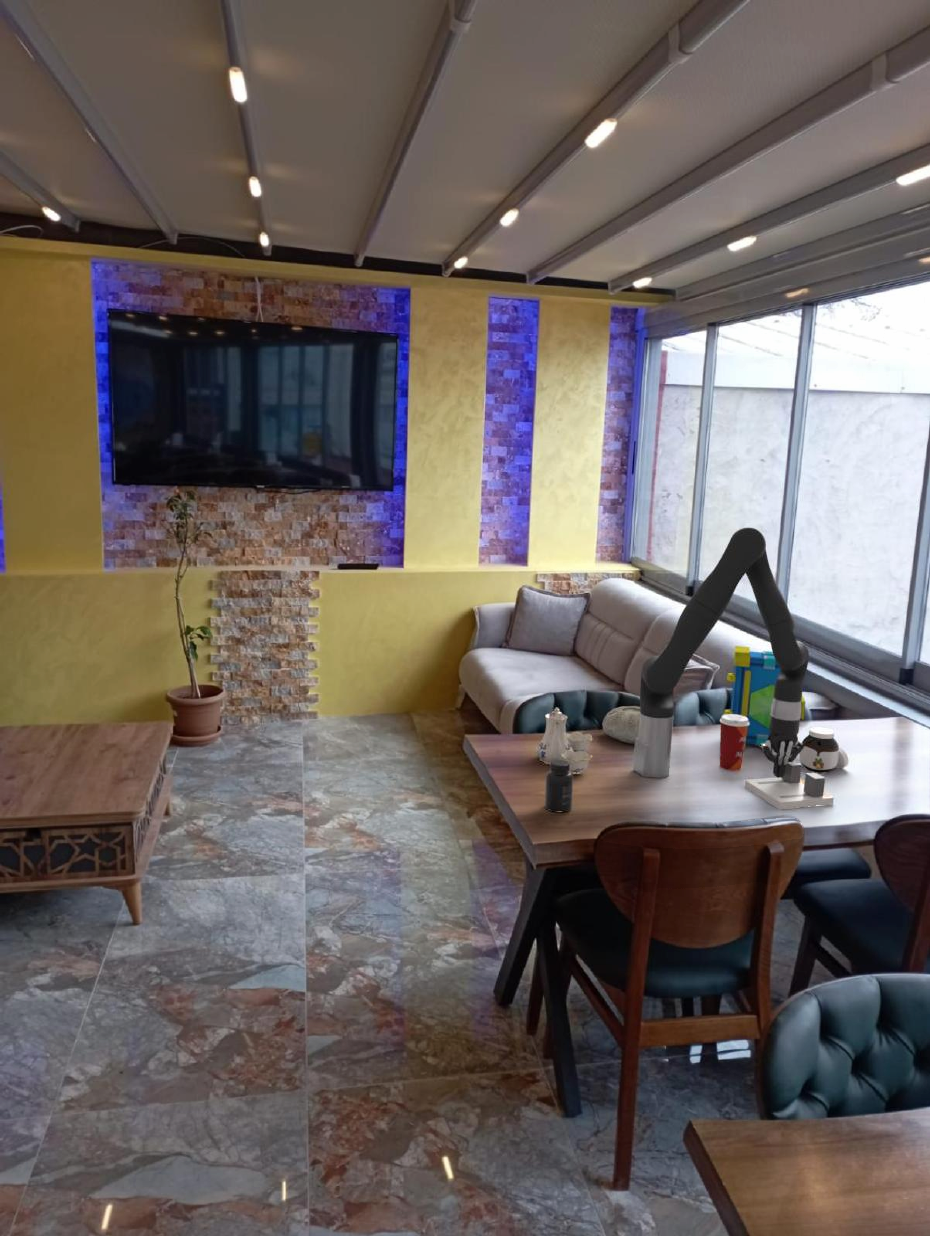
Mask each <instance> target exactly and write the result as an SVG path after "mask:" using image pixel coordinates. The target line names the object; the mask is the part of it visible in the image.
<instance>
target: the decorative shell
mask: <svg viewBox="0 0 930 1236" xmlns="http://www.w3.org/2000/svg"><path fill="white" fill-rule="evenodd" d="M639 721H640V706H636V705H633V706H632V705H631V706H619V707H615V708H612V709H611V710H610V711H608V712H607V714H605V716H604V718H603V720H602V724H601V725H602V730H603V732H604V733H605V734H606V735H607V736H609V737H611V738H612V739H616V740H618V741H620V742H623V743H627V744H631V745H632V744H633V745H635V738H638V734H639Z"/></svg>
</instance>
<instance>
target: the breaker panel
mask: <svg viewBox="0 0 930 1236" xmlns="http://www.w3.org/2000/svg"><path fill="white" fill-rule="evenodd" d="M804 783H805V780H804V779H802V778H800V782H799V783H789V782H787V781H786V780H784V779H782V778H777V777H767V778H755V779H754V778H752V779H745V780H744V788H745V789H747V790H748V791H750V792H752V793H754V794H755V795H756V796H758V797H760V798H761V799H762V800H764V801H766V802H767V803H769V804H770V805H772V806H773V807H775V808H776V809H778V810H779V811H780V810H789V809H792V810H793V809H799V808H798V807H804V808H809V807H808V806H815V807H817V806H816V805H827V806H831V805H830V804H833V805H834V799H835V797H833V796H832V795H830V794H828V793H826V792H825V791H824V793H823V796H820V797H812V796H811V795H809V794H807V793H805V792H804Z"/></svg>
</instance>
